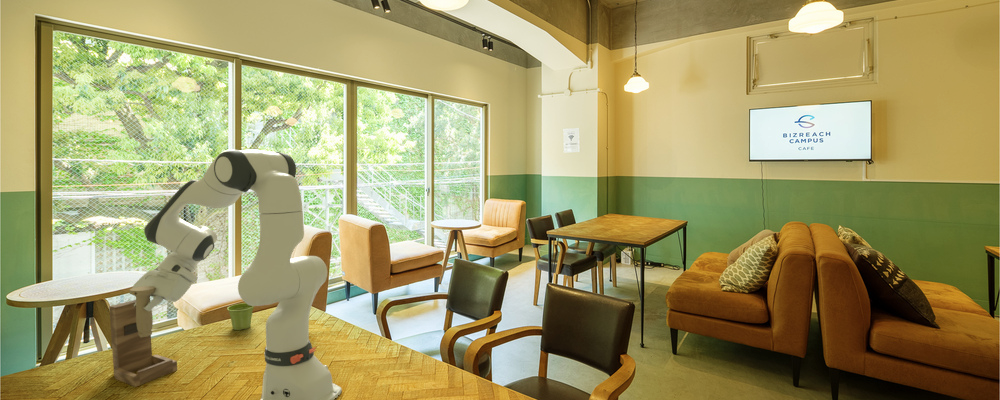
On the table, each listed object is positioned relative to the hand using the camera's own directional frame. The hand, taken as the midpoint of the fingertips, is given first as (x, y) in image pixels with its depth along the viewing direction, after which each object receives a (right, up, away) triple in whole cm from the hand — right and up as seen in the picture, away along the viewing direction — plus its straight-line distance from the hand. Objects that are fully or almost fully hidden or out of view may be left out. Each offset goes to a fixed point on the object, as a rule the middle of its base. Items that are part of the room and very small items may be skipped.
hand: (141, 308), depth 132 cm
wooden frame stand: (-2, -21, +3) cm, 21 cm away
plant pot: (+6, -18, +41) cm, 45 cm away
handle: (0, -9, +1) cm, 9 cm away
